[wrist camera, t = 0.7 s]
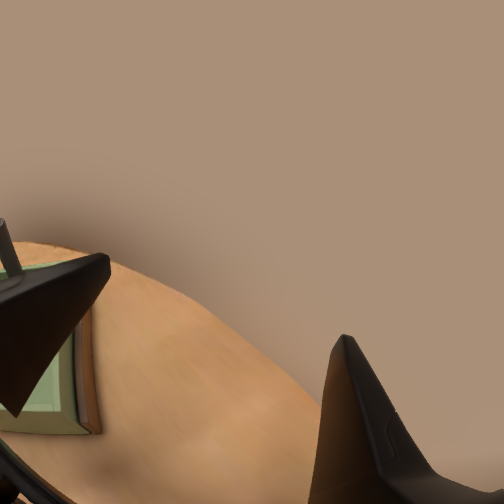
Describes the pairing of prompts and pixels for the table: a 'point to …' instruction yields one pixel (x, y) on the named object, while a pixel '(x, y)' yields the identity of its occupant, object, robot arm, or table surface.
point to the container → (53, 380)
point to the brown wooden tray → (85, 376)
